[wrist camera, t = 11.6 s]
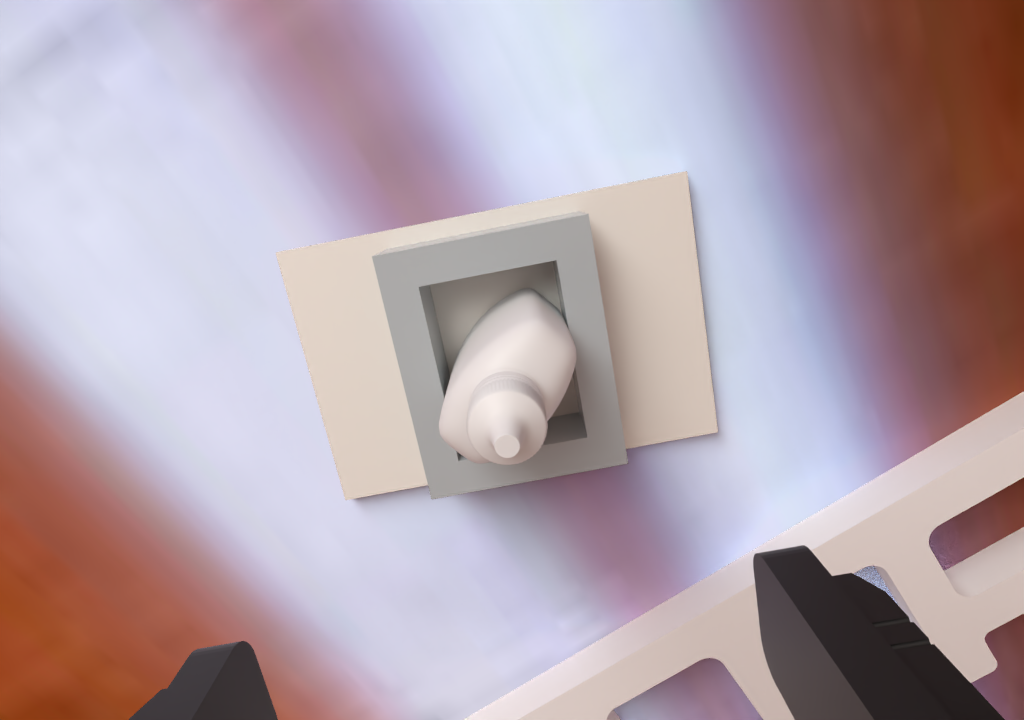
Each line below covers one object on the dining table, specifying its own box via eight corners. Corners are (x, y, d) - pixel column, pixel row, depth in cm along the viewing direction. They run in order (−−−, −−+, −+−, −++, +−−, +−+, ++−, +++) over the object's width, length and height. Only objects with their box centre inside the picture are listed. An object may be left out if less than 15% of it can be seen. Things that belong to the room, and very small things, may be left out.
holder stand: (281, 251, 29) (247, 260, 25) (681, 171, 28) (709, 169, 25) (349, 492, 32) (328, 534, 28) (712, 426, 31) (741, 459, 28)
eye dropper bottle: (581, 366, 30) (630, 479, 18) (467, 408, 30) (444, 546, 19) (547, 276, 29) (576, 337, 17) (429, 323, 29) (380, 412, 18)
